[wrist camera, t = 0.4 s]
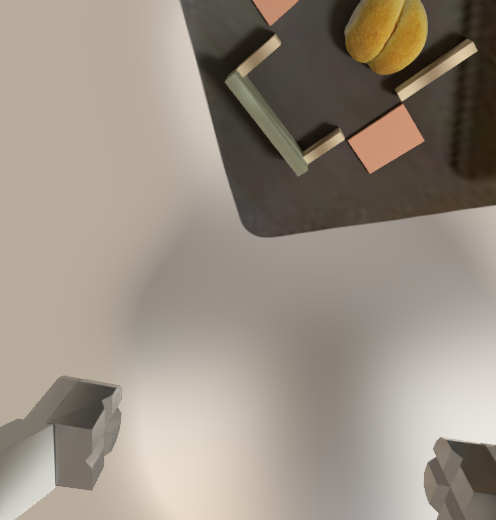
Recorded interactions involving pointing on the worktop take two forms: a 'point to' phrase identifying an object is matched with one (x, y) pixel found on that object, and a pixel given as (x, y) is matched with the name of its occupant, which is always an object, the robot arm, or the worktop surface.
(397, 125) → the trap pads
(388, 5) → the bread roll
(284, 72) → the worktop surface
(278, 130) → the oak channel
